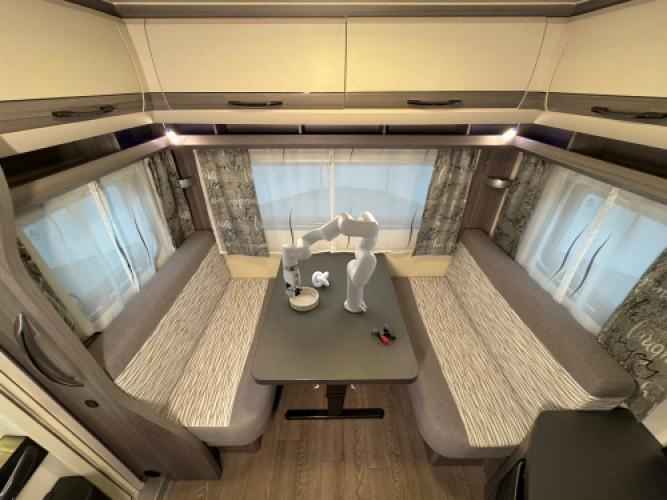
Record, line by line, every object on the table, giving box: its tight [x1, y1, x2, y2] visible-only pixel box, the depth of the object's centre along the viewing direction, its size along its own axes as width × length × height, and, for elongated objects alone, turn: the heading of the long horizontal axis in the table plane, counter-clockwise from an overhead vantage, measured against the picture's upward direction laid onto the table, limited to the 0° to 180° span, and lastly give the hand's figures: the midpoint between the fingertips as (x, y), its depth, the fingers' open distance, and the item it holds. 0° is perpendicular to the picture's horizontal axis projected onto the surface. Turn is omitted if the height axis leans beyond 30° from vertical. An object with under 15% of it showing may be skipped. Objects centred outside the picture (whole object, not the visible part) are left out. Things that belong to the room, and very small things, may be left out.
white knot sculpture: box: [311, 271, 330, 288], centre depth 175 cm, size 11×12×9 cm
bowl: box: [288, 286, 320, 312], centre depth 161 cm, size 18×18×4 cm
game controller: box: [285, 285, 302, 298], centre depth 145 cm, size 10×5×6 cm
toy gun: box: [371, 323, 396, 345], centre depth 135 cm, size 10×12×5 cm
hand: (293, 291), depth 145 cm, fingers closed on game controller, 7 cm apart
